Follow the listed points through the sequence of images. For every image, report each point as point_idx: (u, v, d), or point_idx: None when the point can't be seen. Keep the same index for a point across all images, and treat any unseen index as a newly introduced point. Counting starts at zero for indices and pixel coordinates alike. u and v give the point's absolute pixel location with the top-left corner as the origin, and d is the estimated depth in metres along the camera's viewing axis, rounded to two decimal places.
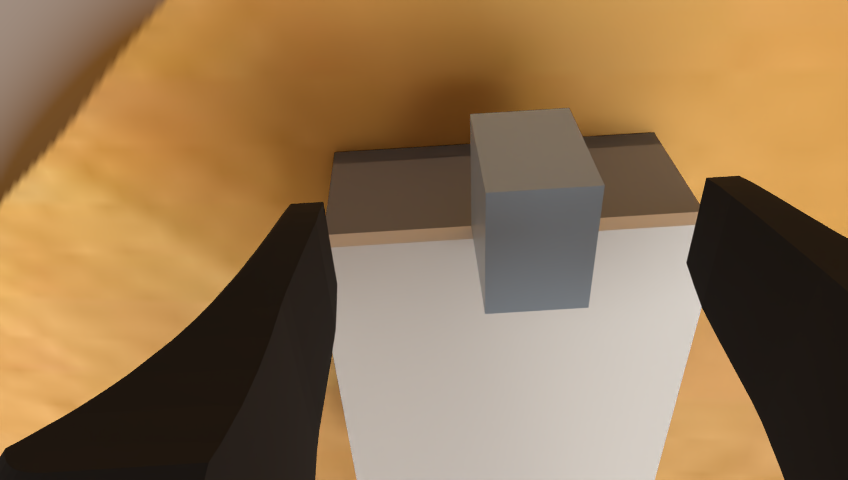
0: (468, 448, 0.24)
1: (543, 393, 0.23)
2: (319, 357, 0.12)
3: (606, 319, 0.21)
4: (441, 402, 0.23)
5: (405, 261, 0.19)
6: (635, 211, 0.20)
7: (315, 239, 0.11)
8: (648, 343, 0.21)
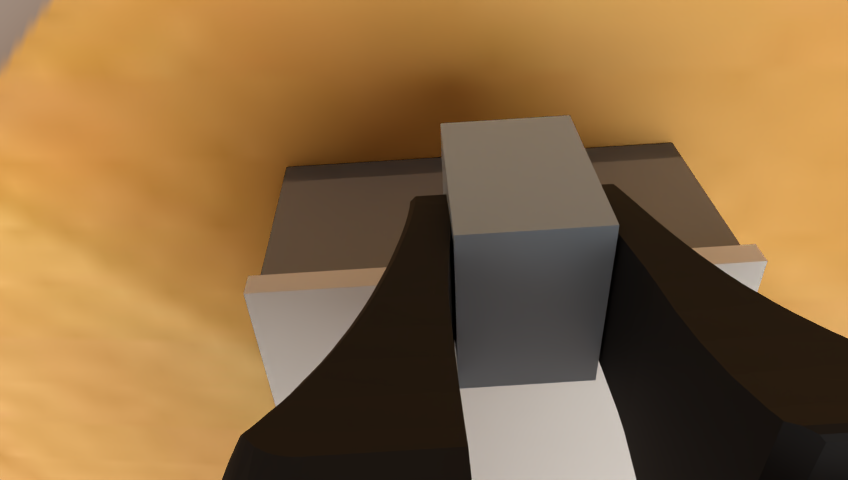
0: None
1: (539, 459, 0.19)
2: None
3: None
4: None
5: (362, 308, 0.15)
6: None
7: None
8: None
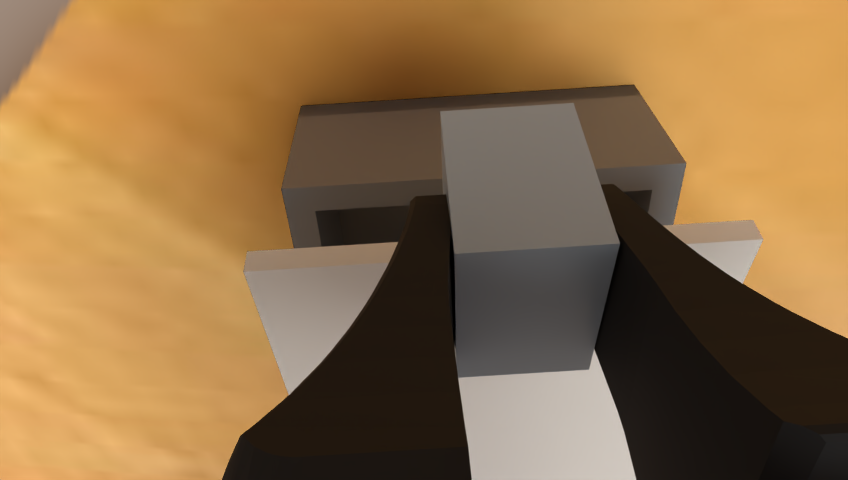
0: None
1: (531, 407, 0.20)
2: None
3: None
4: None
5: (362, 283, 0.15)
6: (610, 158, 0.19)
7: None
8: None
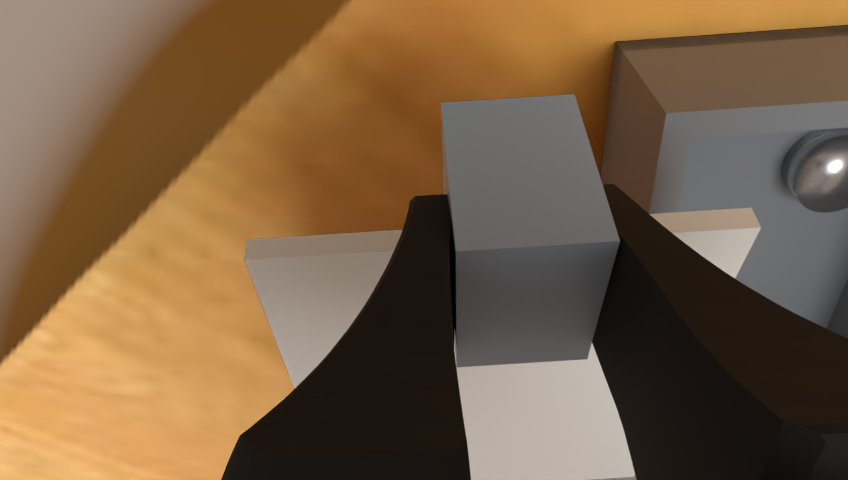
0: None
1: (528, 388, 0.20)
2: None
3: None
4: None
5: (362, 271, 0.15)
6: None
7: (450, 230, 0.11)
8: None
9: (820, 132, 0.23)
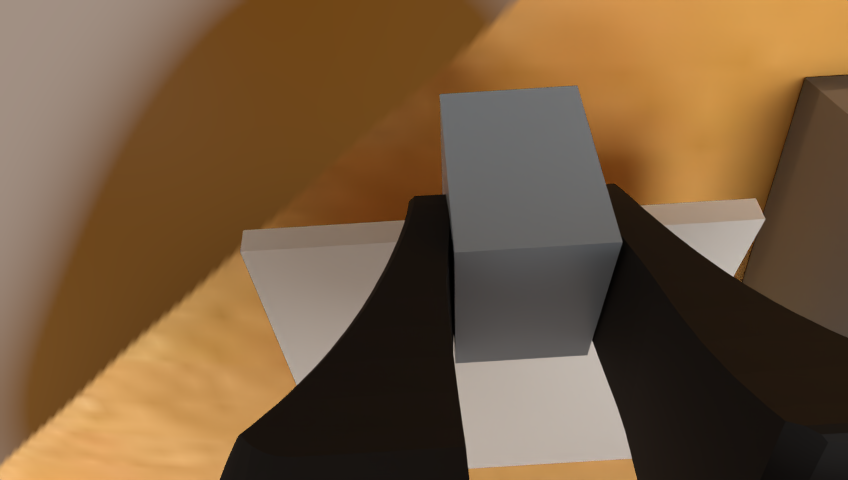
0: None
1: (527, 375, 0.20)
2: None
3: None
4: None
5: (360, 262, 0.15)
6: None
7: None
8: None
9: None
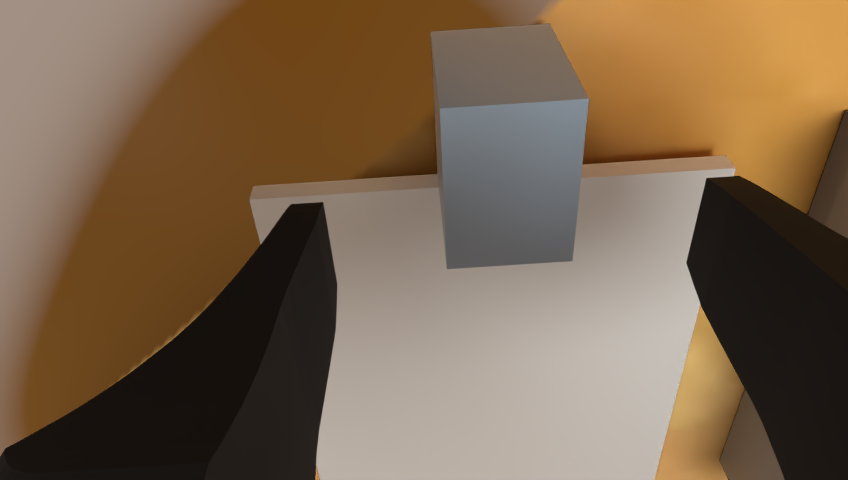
0: (443, 439, 0.22)
1: (527, 375, 0.20)
2: (319, 357, 0.12)
3: (598, 287, 0.18)
4: (410, 386, 0.20)
5: (360, 215, 0.16)
6: None
7: (315, 239, 0.11)
8: (647, 315, 0.19)
9: None
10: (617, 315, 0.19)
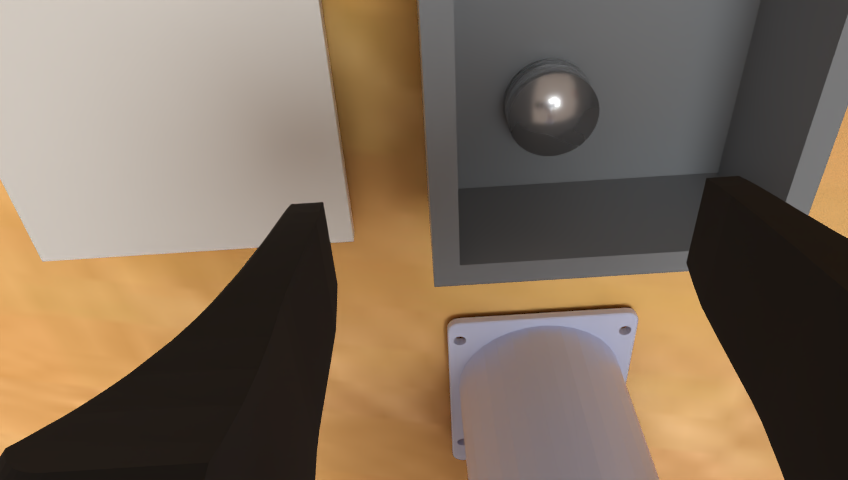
0: (113, 136, 0.22)
1: (169, 47, 0.20)
2: (319, 357, 0.12)
3: None
4: (54, 58, 0.20)
5: None
6: None
7: (315, 239, 0.11)
8: None
9: None
10: None
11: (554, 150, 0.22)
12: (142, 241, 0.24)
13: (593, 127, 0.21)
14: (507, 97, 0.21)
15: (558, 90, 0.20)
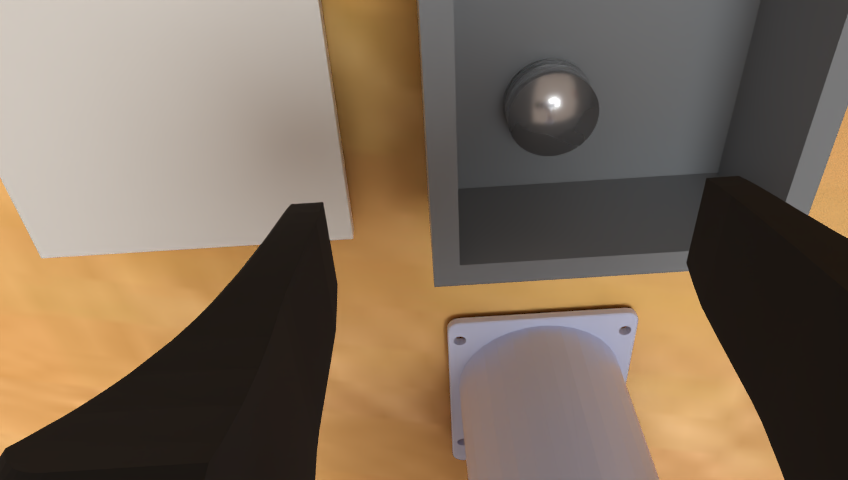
0: (112, 132, 0.22)
1: (168, 43, 0.20)
2: (319, 357, 0.12)
3: None
4: (52, 55, 0.20)
5: None
6: None
7: (315, 239, 0.11)
8: None
9: None
10: None
11: (554, 150, 0.22)
12: (141, 238, 0.24)
13: (593, 127, 0.21)
14: (507, 97, 0.21)
15: (557, 90, 0.20)
